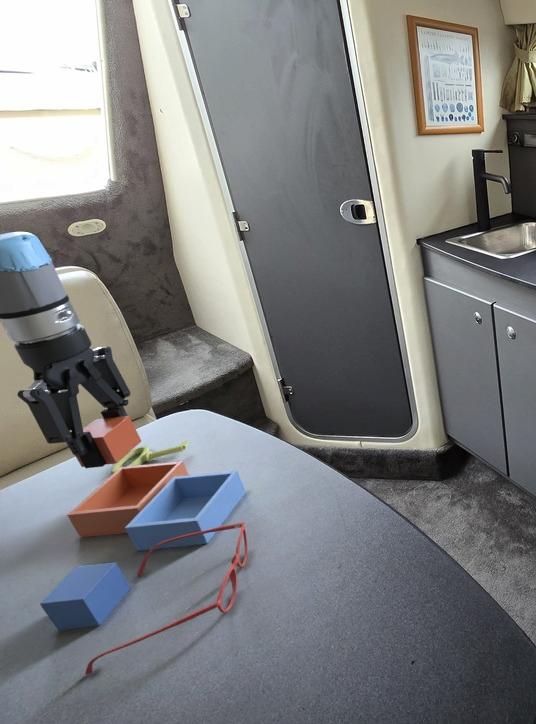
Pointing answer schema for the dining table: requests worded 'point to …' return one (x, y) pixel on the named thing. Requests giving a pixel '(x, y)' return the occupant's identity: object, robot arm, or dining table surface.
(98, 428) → the terracotta block
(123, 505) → the terracotta bin
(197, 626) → the dining table surface
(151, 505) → the blue bin
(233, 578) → the red eyeglasses
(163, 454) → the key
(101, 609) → the blue block
